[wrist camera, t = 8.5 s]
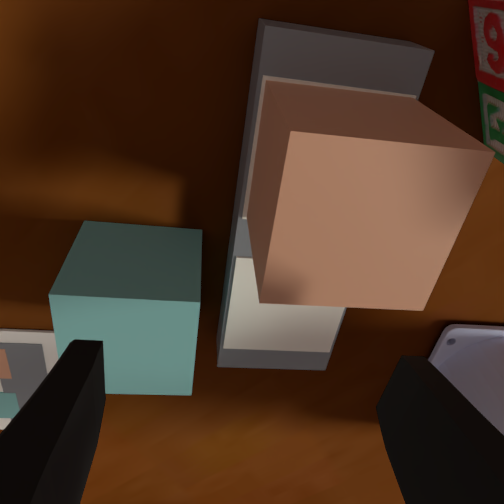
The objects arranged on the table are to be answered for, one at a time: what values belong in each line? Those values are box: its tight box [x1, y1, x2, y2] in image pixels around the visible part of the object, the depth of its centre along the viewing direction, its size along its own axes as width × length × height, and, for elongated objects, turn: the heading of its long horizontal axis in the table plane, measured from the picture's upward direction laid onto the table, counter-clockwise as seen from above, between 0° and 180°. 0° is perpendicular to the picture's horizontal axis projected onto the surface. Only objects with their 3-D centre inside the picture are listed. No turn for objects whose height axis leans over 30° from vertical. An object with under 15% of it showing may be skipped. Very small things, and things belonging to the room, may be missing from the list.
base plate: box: [217, 18, 435, 370], centre depth 18 cm, size 15×6×2 cm, turn 172°
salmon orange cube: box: [247, 80, 496, 311], centre depth 13 cm, size 5×5×5 cm
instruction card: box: [0, 329, 58, 429], centre depth 23 cm, size 8×6×1 cm
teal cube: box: [48, 221, 202, 395], centre depth 18 cm, size 5×5×5 cm
